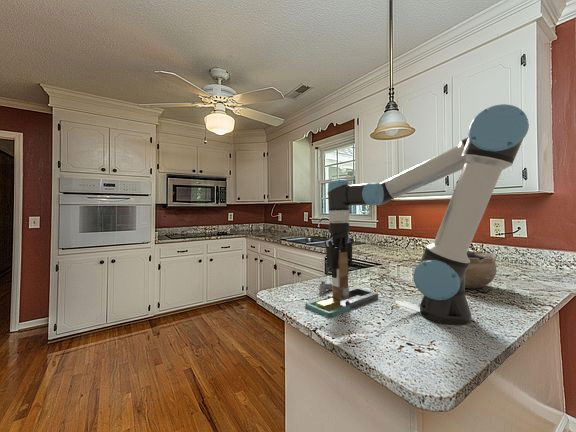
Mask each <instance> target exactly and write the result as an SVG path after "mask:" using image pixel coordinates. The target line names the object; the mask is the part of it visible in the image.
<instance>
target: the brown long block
mask: <svg viewBox="0 0 576 432" xmlns="http://www.w3.org/2000/svg"><path fill="white" fill-rule="evenodd" d="M337 269H339V280H340V287H336V286H332V290H331V291H332V293H331V294H332V295H333V297H334V298H337V299H340V300H342V299H343V300H346V299H349V289H350V288H349V273H348V272H349V267H348V258H347V252H343V251H339V259H338V268H337Z"/></svg>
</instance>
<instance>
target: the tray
mask: <svg viewBox="0 0 576 432" xmlns="http://www.w3.org/2000/svg"><path fill="white" fill-rule="evenodd" d="M323 300H327V296H326V297H325V296H324V297H321V298H318V299H315V300H312V301H309V302H306V303H305V308H306V309H309V310H310V311H314V312H316V313H318V314H321V315H323V316H324V317H327V318H333V317H334V316H338V315H340V314H342V313H346V312H348V311H350V310H351V309H350V306H349V305H347V306H344V307H343V306H341V307H340V308H337V309H334V310H330V311H326V310H324V309H321V308H319V307H316V302H319V301H323Z"/></svg>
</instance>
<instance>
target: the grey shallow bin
mask: <svg viewBox="0 0 576 432" xmlns="http://www.w3.org/2000/svg"><path fill="white" fill-rule="evenodd" d="M326 298H327V299H331V298H334V297H333V295H332V293H331V294H328V295H327V296H326ZM334 299H337V298H334ZM337 300H340V299H337ZM378 300H379V293H378V292H374V291H372V290H371V291H370V290H367V289H364V288H360V287H356V286H354V287H352V288H351V287H350V288H349V299H346V300H343V299H342V300H340V301H341V307H344V306H347V305H349V306H350V310H354V309H355V308H358V307H362V306H363V305H366V304H369V303H372V302H374V301H378Z"/></svg>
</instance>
